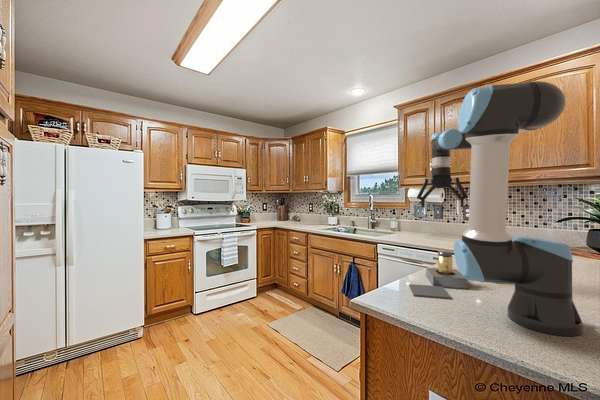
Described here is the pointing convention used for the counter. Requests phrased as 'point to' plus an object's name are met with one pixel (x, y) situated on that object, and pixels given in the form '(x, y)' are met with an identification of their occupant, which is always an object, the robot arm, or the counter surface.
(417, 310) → the counter surface
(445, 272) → the glass jar
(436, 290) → the mat
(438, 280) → the block
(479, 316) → the counter surface
